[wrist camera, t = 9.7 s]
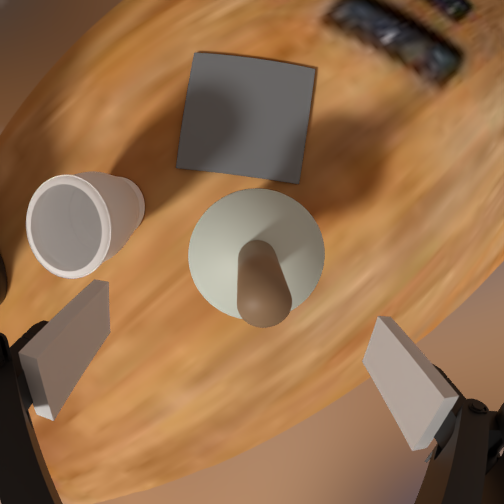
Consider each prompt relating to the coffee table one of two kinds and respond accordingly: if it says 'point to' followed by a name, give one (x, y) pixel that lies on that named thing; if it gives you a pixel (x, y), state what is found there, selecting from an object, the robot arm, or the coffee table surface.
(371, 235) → the coffee table surface
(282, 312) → the lid
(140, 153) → the coffee table surface
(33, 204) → the jar
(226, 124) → the mat
